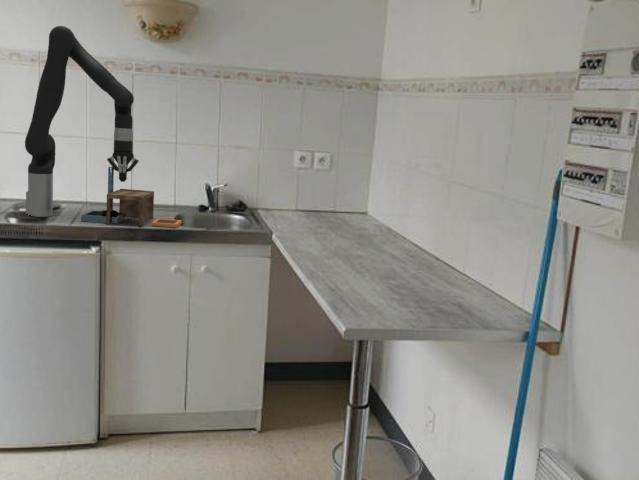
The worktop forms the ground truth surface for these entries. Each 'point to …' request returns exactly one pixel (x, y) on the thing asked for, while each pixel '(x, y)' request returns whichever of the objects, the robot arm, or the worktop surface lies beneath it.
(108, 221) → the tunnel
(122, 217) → the stand with upright post
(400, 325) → the worktop surface
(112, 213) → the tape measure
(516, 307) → the worktop surface
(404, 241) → the worktop surface
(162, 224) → the tray
